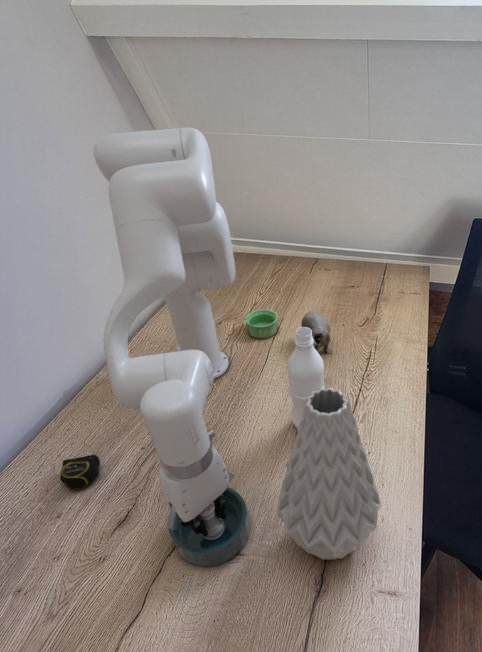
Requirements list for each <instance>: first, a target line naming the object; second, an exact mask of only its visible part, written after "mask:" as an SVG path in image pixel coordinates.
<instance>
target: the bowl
mask: <svg viewBox="0 0 482 652" xmlns="http://www.w3.org/2000/svg"><path fill="white" fill-rule="evenodd" d="M224 497H225V502H224V503H223V504H224V507H225V510H224V512H225V515H226V518H225V519H223V522H224V525H225V529H224V532H223V534H222V535H221V536H220V537H218V538H216V539H214V540H207V539H204V538H203V537H202V536H201V534H200V533H199V534H196V533H195V532H194V531H193V530H192V528H191V526H186V527H184V526H181V527H180V528H178V529H175V530H171V529H170V528H169V527H168V534H169V535H170V537H171V539H172V542H173V543H174V546H175V548H176V550H177V552H178V555H180V556H181V557H182V558H183V560H185V561H186V562H187V563H191V564H192V565H195V566H200V567H213V566H216V565H221V564H223V563H225V562H228V561H229V560H231V559H232V558H234V557H235V556H237V555H238V554H239V552H240V551H241V550H242V549H243V548H244V546H245V545H246V543H247V540H248V539H249V537H250V530H251V523H250V518H249V517H250V516H249V513H248V509H247V503H246V502H245V500H244V498H243V497H242V496H241V494H240V493H239V492H237V491H236V490H234V489H233V488H231V487H229V486H228V489H227V491H226V493H225V496H224ZM215 515H216V514H215ZM200 519H201V518H200Z"/></svg>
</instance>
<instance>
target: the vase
mask: <svg viewBox="0 0 482 652" xmlns="http://www.w3.org/2000/svg"><path fill="white" fill-rule="evenodd" d="M381 508H382V503H381V498H380V494H379V491H378V489H377V486H376V484H375V480H374V476H373V473H372V469H371V467H370V464H369V461H368V457H367V453H366V451H365V449H364V447H363V443H362V440H361V437H360V433H359V429H358V424H357V420H356V418H355V416H354V413H353V409H352V405H351V403H350V401H349V400H348V394H346V393H342V391H341V389H334V388H333V387H332V386H329V387H327V388H324V389H323V388H320V389H319V390H318V391H312V392H311V396H309V397H307V398H306V405H305V407H304V410H303V413H302V419H301V422H300V423H299V426H298V429H297V436H296V439H295V441H294V443H293V445H292V452H291V454H290V456H289V460H288V462H287V464H286V473H285V475H284V478H283V480H282V485H281V488H280V490H279V495H278V501H277V510H276V514H277V516H278V517H279V519H280V520H281V521H282V522H283V525H284V530H285V534H286V536H288V537H289V538H291V539H293V540H294V543H296V544H297V545H298V546H299V547H300V548H302V549H303V551H305V552H306V553H307V554H309V555H310V554H311V555H313V556H315V557H316V558H319V559H321V560H323V561H324V560H327V561H336V560H337V559H340V560H342V559H343V558H344V557H346V556H347V555H349V554H351V553H353V552H354V551H356V550H357V549H358V548H359V547H360V546H361V545H362V543H363V542H365V540H367V538H368V536H369V535H370V534H372V532H374V531H375V530H377V527H378V514H379V513H378V512H379V511H380V510H381Z"/></svg>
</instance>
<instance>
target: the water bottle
mask: <svg viewBox="0 0 482 652" xmlns="http://www.w3.org/2000/svg"><path fill="white" fill-rule="evenodd" d="M313 343H314V340H313V337H312V330H311V329H310V328H308V327H302V326H301V327H298V328H297V329H296V330H295V339H294V345H295V348H294V350H293V351H292V353H291V355H290V357H289V359H288V362H287V372H288V373H287V374H288V382H289V386H288V389H289V395H290V398H291V400H292V410H291V420H292V423H293V425H294V427H295V428H296V430H298V426H299V423H300V422H301V419H302V413H303V410H304V407H305V405H306V398H307V397H309V396H311V392H312V391H318V390H319V389H320V388H323V389H325V381H324V376H325V375H324V371H325V364H324V361H323V358H322V356H321V355H320V353H319V352H318V351H316V349H315V348H314V346H313Z"/></svg>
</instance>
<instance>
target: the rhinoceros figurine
mask: <svg viewBox="0 0 482 652" xmlns="http://www.w3.org/2000/svg"><path fill="white" fill-rule="evenodd" d="M300 323H301V327H308V328H310V329H311V330H312V337H313V340H314V343H313V346H314V348H315V349H316V351H317V352H318V351H319V349H321V348H322V347H323V349H322V350H323V351H324V353H325V354H330V353H331V351H330V350H329V345H330V344H329V343H330V342H331V335H330V333H331V327H330V324H329V322H328V320H327V319H326V318H325V317H324V316H323V315H321V314H319V313H317V312H315V311H313V310H312V311H311V310H309V311H308V312H306V313H305V314H304V316H303V317H302V319H301V322H300Z"/></svg>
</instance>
